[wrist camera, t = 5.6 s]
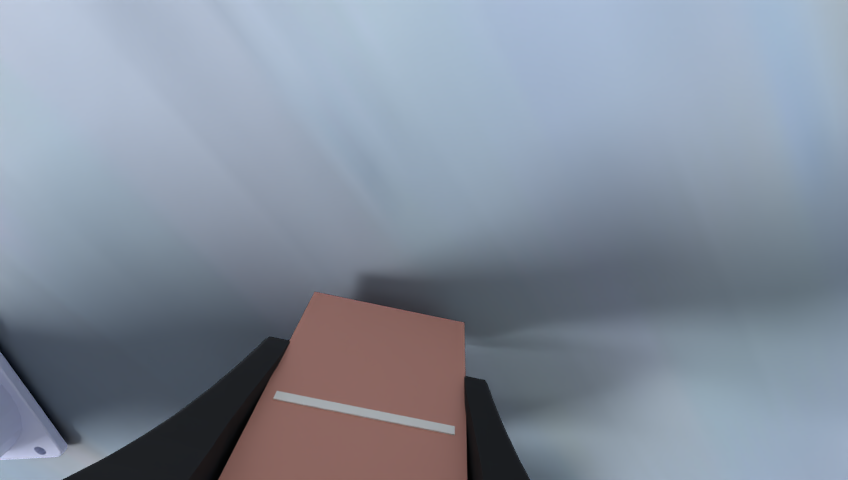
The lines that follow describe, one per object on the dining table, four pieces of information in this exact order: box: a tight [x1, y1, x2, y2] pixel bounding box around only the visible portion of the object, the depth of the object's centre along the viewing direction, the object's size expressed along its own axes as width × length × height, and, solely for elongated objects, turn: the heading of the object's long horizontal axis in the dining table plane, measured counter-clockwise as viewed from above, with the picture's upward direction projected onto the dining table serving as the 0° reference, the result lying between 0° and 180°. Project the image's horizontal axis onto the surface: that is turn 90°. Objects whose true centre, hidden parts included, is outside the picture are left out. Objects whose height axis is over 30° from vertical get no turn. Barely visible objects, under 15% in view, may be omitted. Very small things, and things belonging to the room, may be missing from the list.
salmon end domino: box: [218, 292, 467, 480], centre depth 12 cm, size 2×5×8 cm, turn 79°
